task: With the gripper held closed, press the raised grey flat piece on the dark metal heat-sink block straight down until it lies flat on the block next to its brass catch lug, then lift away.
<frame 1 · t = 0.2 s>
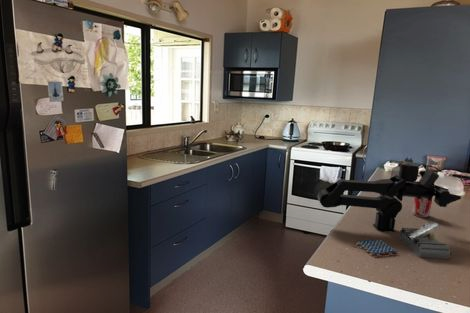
hand: (454, 193, 138), 16 cm above the counter, tool horizontal, fingers open, 9 cm apart
graphics card: (400, 184, 216), on the counter
grey flat piece: (423, 231, 125), point 6 cm above the counter, hinge at 35.0°
soda can: (420, 215, 160), on the counter
heat sink: (422, 247, 127), on the counter
woven mat: (376, 251, 123), on the counter
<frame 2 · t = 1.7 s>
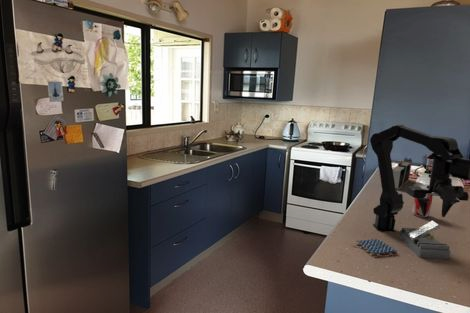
hand: (433, 216, 124), 12 cm above the counter, tool pointing down, fingers open, 6 cm apart
nothing on the counter moved.
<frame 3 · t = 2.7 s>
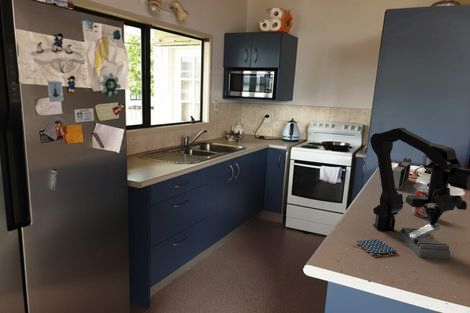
hand: (432, 225, 125), 9 cm above the counter, tool pointing down, fingers closed
grey flat piece: (423, 231, 125), point 6 cm above the counter, hinge at 31.5°, touching gripper
everything else where it was.
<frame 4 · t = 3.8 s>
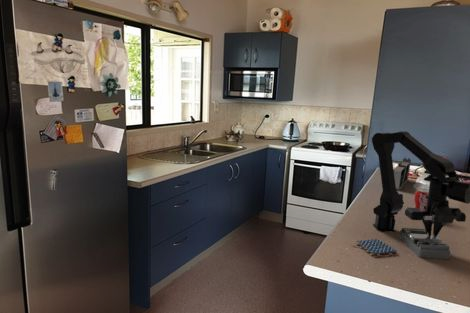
hand: (431, 237, 126), 4 cm above the counter, tool pointing down, fingers closed, pressing on grey flat piece
grey flat piece: (424, 238, 126), point 4 cm above the counter, hinge at 0.0°, touching gripper
everything else where it was.
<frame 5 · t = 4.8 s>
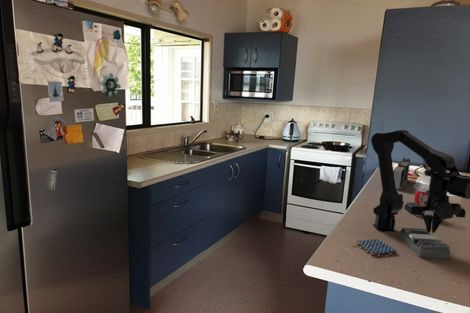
hand: (430, 232, 125), 6 cm above the counter, tool pointing down, fingers closed
grey flat piece: (424, 238, 126), point 4 cm above the counter, hinge at -0.5°, touching heat sink
everything else where it was.
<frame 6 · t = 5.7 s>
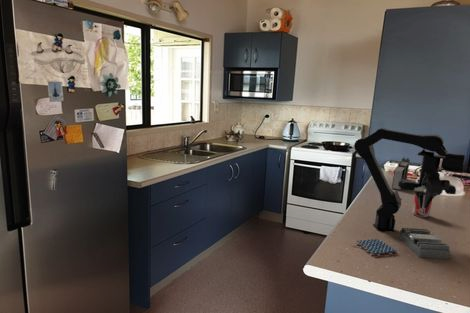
hand: (422, 208, 133), 12 cm above the counter, tool pointing down, fingers closed
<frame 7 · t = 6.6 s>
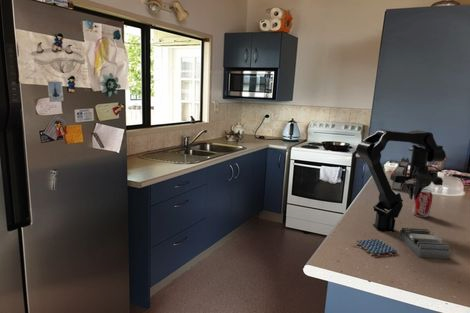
hand: (413, 199, 144), 12 cm above the counter, tool pointing down, fingers closed
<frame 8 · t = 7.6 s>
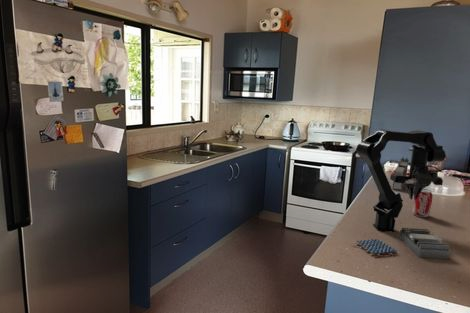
hand: (413, 199, 144), 12 cm above the counter, tool pointing down, fingers closed
at the end: grey flat piece at +0° (first picture: +35°); soda can moved 0.2 cm from its start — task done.
